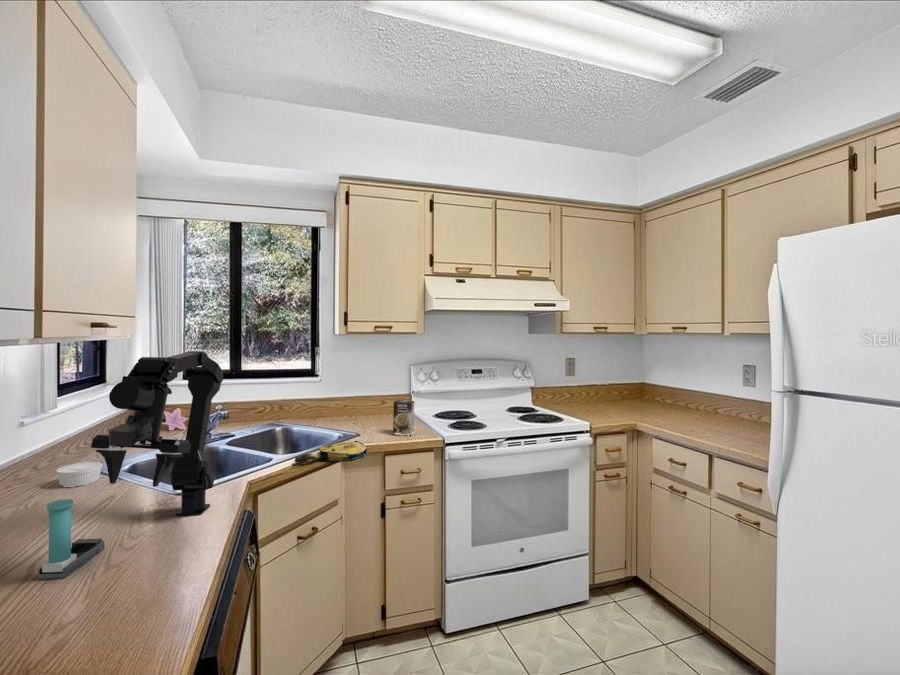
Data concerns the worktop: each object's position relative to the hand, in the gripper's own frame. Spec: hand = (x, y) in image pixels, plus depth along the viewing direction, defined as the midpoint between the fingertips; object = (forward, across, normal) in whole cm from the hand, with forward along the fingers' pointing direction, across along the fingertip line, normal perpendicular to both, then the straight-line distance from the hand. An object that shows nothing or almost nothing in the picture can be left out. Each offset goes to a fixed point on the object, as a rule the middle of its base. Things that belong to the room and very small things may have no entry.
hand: (133, 485), depth 100 cm
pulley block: (-4, +24, +79) cm, 82 cm away
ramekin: (+6, -48, +48) cm, 68 cm away
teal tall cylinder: (+16, -8, -4) cm, 18 cm away
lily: (-11, -66, +124) cm, 141 cm away
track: (+16, -9, -1) cm, 18 cm away
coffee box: (-16, +46, +121) cm, 130 cm away
